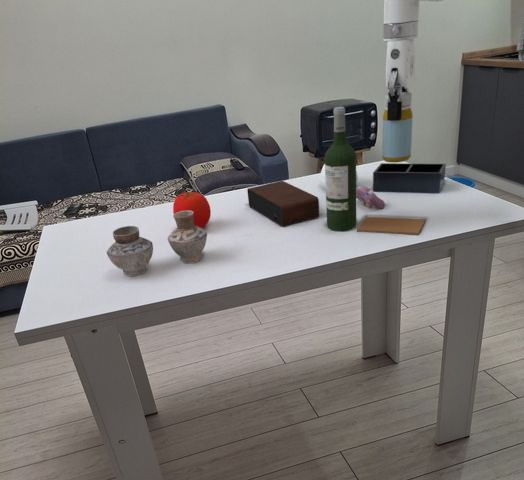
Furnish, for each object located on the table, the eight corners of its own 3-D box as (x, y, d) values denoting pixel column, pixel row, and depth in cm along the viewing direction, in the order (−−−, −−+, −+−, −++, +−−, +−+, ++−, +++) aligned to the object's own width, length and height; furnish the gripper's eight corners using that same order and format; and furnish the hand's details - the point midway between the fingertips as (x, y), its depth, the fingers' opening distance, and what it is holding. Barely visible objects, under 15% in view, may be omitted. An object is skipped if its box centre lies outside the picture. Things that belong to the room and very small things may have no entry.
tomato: (190, 220, 162) (184, 185, 157) (219, 224, 158) (213, 187, 152) (169, 233, 155) (161, 196, 149) (198, 237, 150) (192, 199, 144)
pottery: (215, 262, 134) (208, 215, 127) (115, 285, 128) (102, 237, 122) (204, 247, 143) (197, 203, 137) (111, 268, 138) (98, 223, 131)
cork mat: (425, 221, 143) (425, 219, 143) (418, 235, 136) (418, 232, 135) (366, 218, 149) (366, 216, 149) (356, 231, 142) (356, 229, 142)
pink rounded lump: (357, 207, 162) (347, 189, 158) (369, 198, 162) (360, 179, 158) (374, 216, 154) (365, 197, 150) (387, 206, 154) (378, 186, 150)
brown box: (319, 217, 153) (318, 197, 150) (282, 227, 150) (281, 206, 147) (282, 198, 172) (281, 180, 169) (249, 206, 168) (247, 187, 165)
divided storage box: (444, 183, 169) (445, 163, 166) (439, 193, 161) (440, 173, 158) (380, 181, 177) (381, 163, 173) (372, 191, 169) (373, 172, 166)
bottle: (392, 164, 132) (394, 98, 123) (376, 159, 137) (377, 95, 129) (416, 159, 134) (419, 93, 125) (399, 154, 139) (401, 90, 131)
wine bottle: (323, 230, 145) (318, 111, 129) (332, 220, 151) (329, 105, 134) (351, 232, 142) (349, 110, 125) (360, 222, 147) (359, 104, 131)
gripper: (409, 33, 112) (406, 124, 122) (424, 27, 125) (420, 109, 135) (374, 37, 115) (373, 124, 125) (392, 30, 128) (390, 110, 138)
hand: (397, 116), depth 130 cm, fingers closed on bottle, 7 cm apart
